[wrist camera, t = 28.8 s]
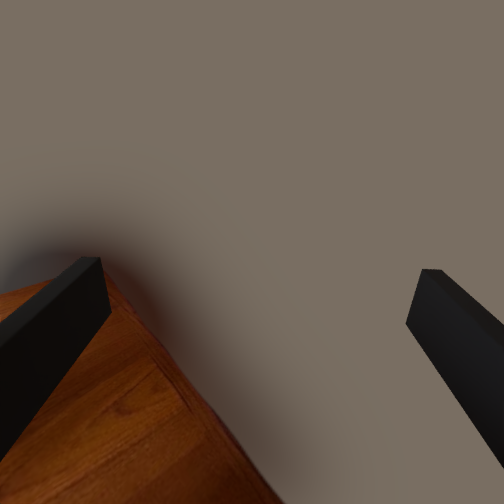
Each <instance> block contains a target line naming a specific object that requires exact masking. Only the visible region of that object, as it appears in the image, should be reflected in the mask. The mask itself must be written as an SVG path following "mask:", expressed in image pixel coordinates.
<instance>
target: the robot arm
mask: <svg viewBox="0 0 504 504" xmlns="http://www.w3.org/2000/svg"><path fill="white" fill-rule="evenodd" d="M111 313H112V311H111V306H110V302H109V297H108V292H107V287H106V283H105V278H104V273H103V268H102V264H101V259H100V257H81V258H80V259H78V260H77V261H76V262H75V263H73V264H72V265H71V266H70V267H69V268H67V269H66V270H65V271H63V272H62V273H61V274H60V275H59V276H57V277H56V278H55V279H54V280H52V281H51V282H50V283H49V284H47V285H46V286H45V287H44V288H42V289H41V290H40V291H39V292H38V293H36V294H35V295H34V296H33V297H31V298H30V299H29V300H28V301H26V302H25V303H24V304H23V305H22V306H20V307H19V308H18V309H17V310H15V311H14V312H13V313H12V314H10V315H9V316H8V317H7V318H5V319H4V320H3V321H2V322H1V323H0V462H1V461H2V459H3V458H4V457H5V455H6V454H7V453H8V451H9V450H10V449H11V447H12V446H13V444H14V443H15V442H16V440H17V439H18V438H19V436H20V435H21V434H22V432H23V431H24V430H25V428H26V427H27V426H28V424H29V423H30V422H31V420H32V419H33V418H34V416H35V415H36V414H37V412H38V411H39V410H40V408H41V407H42V406H43V404H44V403H45V401H46V400H47V399H48V397H49V396H50V395H51V393H52V392H53V391H54V389H55V388H56V387H57V385H58V384H59V383H60V381H61V380H62V379H63V377H64V376H65V375H66V373H67V372H68V371H69V369H70V368H71V367H72V365H73V364H74V362H75V361H76V360H77V358H78V357H79V356H80V354H81V353H82V352H83V350H84V349H85V348H86V346H87V345H88V344H89V342H90V341H91V340H92V338H93V337H94V336H95V334H96V333H97V332H98V330H99V329H100V328H101V326H102V325H103V324H104V322H105V321H106V319H107V318H108V317H109V315H110V314H111ZM406 325H407V327H408V328H409V330H410V331H411V333H412V334H413V336H414V337H415V339H416V340H417V341H418V343H419V344H420V346H421V347H422V349H423V350H424V352H425V353H426V355H427V356H428V358H429V359H430V361H431V362H432V363H433V365H434V366H435V368H436V370H437V371H438V372H439V374H440V375H441V377H442V378H443V380H444V381H445V383H446V384H447V386H448V387H449V389H450V390H451V392H452V393H453V395H454V396H455V398H456V399H457V400H458V402H459V403H460V405H461V406H462V408H463V409H464V411H465V412H466V414H467V415H468V417H469V418H470V420H471V421H472V423H473V424H474V426H475V427H476V429H477V430H478V431H479V433H480V434H481V436H482V437H483V439H484V440H485V442H486V443H487V445H488V446H489V448H490V449H491V451H492V452H493V454H494V455H495V457H496V458H497V460H498V461H499V463H500V464H501V465H502V467H503V468H504V325H503V324H502V323H501V322H500V321H499V320H497V318H495V317H494V316H493V315H492V314H491V313H490V312H489V311H487V310H486V309H485V308H484V307H483V306H482V305H481V304H480V303H478V302H477V301H476V300H475V299H474V298H473V297H472V296H470V295H469V294H468V293H467V292H466V291H465V290H464V289H463V288H461V287H460V286H459V285H458V284H457V283H456V282H455V281H453V280H452V279H451V278H450V277H449V276H448V275H446V274H445V273H444V272H443V271H442V270H435V269H433V270H432V269H422V271H421V274H420V278H419V281H418V284H417V288H416V291H415V294H414V298H413V301H412V304H411V307H410V311H409V314H408V317H407V321H406Z"/></svg>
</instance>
